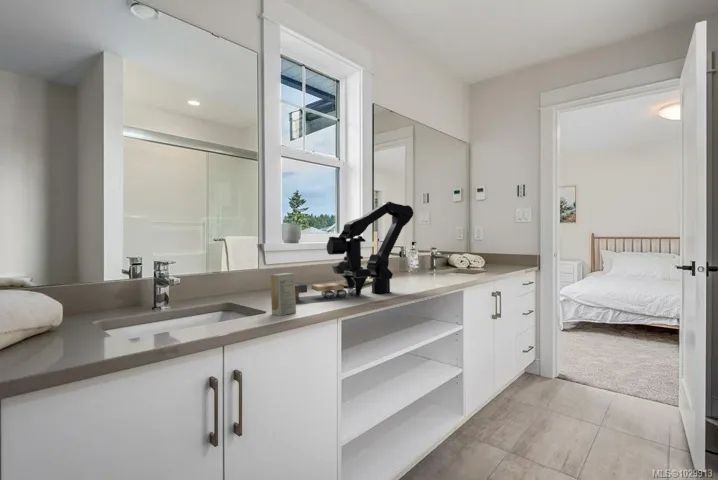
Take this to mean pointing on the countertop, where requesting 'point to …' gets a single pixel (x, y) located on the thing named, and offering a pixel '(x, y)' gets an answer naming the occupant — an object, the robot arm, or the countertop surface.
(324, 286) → the oak slab
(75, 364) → the countertop surface
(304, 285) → the walnut stop
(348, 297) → the rubber mat
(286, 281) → the skincare box
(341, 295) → the cylinder
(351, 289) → the loose steel roller
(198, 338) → the countertop surface
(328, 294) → the cylinder
